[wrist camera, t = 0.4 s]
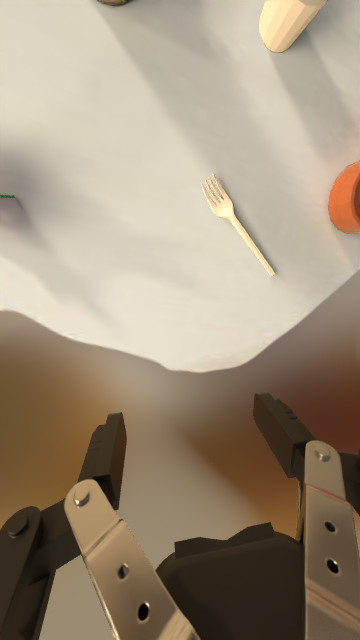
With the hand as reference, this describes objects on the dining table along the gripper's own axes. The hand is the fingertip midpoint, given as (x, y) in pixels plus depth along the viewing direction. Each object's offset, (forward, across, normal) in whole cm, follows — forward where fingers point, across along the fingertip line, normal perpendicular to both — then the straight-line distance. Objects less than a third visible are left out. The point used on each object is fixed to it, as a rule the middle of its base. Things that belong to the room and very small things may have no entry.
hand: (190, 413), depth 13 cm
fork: (+28, -14, -11) cm, 34 cm away
